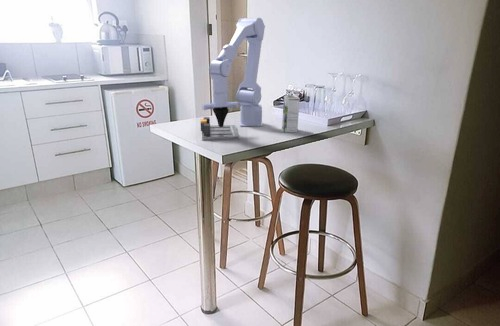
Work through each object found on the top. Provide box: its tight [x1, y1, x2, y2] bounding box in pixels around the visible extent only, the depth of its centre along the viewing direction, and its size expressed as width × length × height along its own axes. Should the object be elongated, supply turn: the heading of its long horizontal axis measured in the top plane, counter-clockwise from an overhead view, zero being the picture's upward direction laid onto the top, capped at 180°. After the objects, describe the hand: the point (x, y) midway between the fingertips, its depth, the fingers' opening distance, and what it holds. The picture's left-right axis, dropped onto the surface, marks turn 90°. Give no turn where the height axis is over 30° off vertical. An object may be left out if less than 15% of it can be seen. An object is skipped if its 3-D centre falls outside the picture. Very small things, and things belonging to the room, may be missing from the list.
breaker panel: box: [201, 116, 240, 141], centre depth 145 cm, size 14×18×5 cm
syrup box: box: [281, 94, 301, 133], centre depth 149 cm, size 6×6×14 cm
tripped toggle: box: [200, 118, 207, 132], centre depth 144 cm, size 2×3×4 cm
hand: (220, 126), depth 145 cm, fingers closed
